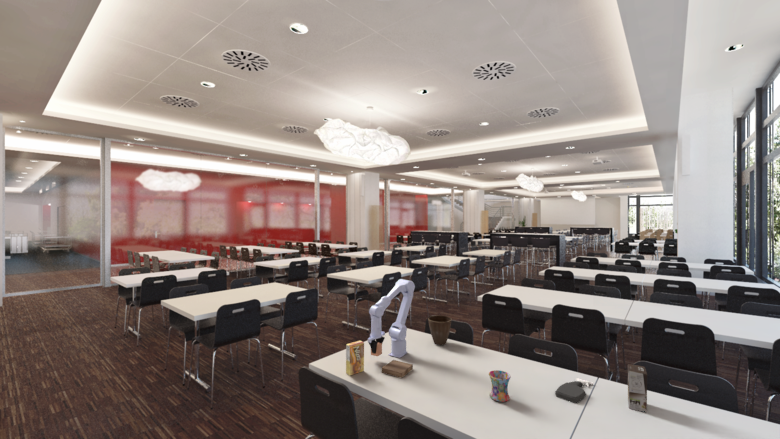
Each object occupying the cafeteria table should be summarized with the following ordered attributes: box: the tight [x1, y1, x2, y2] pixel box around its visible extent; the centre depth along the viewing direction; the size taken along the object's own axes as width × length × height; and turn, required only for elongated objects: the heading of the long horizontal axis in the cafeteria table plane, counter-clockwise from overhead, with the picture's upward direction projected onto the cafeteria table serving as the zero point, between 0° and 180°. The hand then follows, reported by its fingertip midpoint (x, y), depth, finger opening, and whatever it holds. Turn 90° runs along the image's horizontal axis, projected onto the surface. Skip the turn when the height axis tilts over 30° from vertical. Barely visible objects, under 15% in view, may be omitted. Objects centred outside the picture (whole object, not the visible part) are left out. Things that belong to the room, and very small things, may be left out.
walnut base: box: [381, 359, 414, 379], centre depth 184 cm, size 12×12×3 cm
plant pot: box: [427, 315, 452, 346], centre depth 224 cm, size 15×15×16 cm
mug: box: [488, 369, 512, 403], centre depth 157 cm, size 12×9×11 cm
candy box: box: [345, 340, 365, 376], centre depth 182 cm, size 9×4×15 cm, turn 129°
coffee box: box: [627, 363, 648, 413], centre depth 149 cm, size 9×6×16 cm
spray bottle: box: [554, 377, 594, 404], centre depth 163 cm, size 3×11×24 cm
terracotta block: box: [370, 342, 383, 357], centre depth 195 cm, size 4×4×6 cm
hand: (376, 351), depth 195 cm, fingers closed on terracotta block, 4 cm apart
